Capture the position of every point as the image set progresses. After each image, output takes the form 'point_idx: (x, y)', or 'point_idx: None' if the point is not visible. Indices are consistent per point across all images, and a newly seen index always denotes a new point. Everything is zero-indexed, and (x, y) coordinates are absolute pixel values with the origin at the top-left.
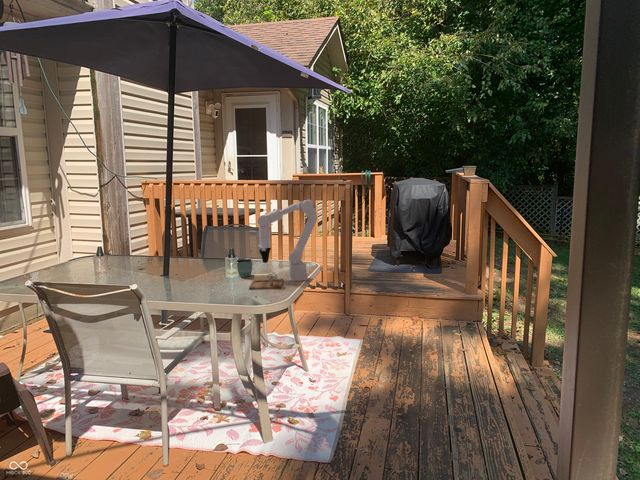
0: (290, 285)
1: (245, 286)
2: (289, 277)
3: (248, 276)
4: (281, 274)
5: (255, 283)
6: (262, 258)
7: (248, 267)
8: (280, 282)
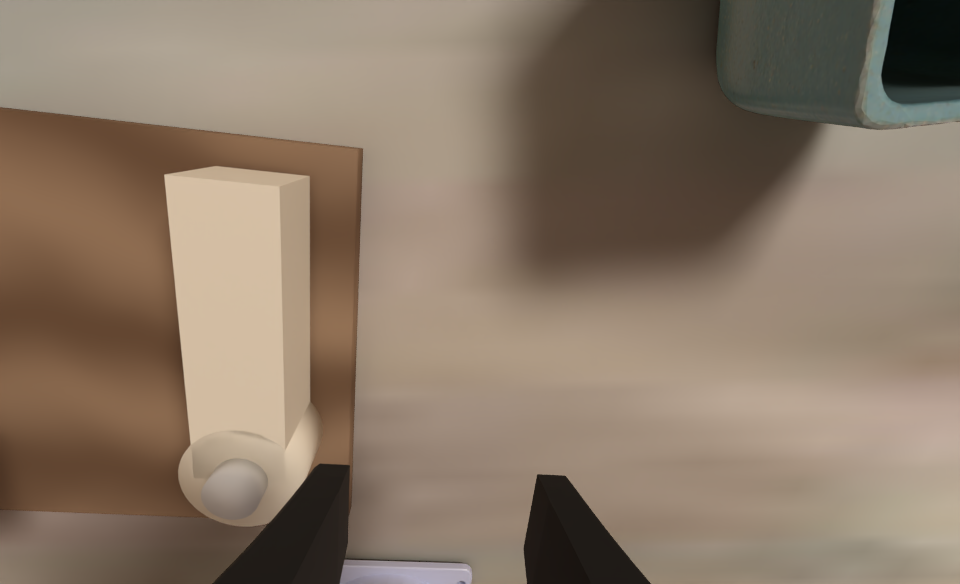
0: (100, 571)
1: (11, 13)
2: (445, 569)
3: (716, 49)
4: (689, 481)
5: (69, 184)
6: (242, 556)
7: (774, 27)
8: (140, 499)
